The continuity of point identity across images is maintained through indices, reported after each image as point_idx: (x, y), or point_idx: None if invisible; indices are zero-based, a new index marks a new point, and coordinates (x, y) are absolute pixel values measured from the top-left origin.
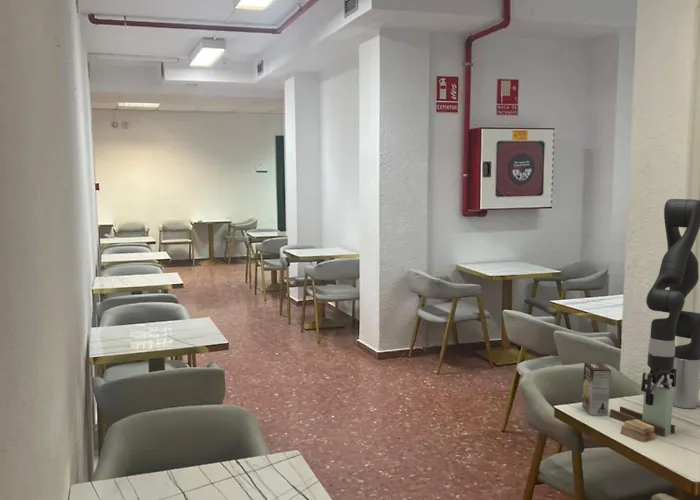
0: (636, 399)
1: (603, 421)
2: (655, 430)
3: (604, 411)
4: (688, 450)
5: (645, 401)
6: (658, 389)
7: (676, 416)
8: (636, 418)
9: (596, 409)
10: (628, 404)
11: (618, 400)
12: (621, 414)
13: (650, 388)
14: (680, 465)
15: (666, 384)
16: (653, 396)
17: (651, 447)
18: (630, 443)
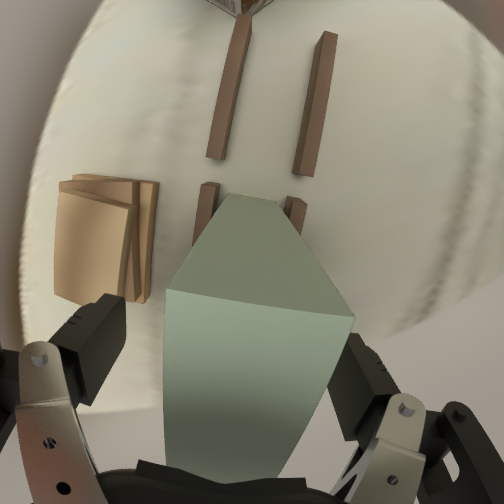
0: (501, 76)
1: (153, 48)
2: None
3: (226, 3)
4: (154, 394)
5: (81, 307)
6: (167, 452)
7: (459, 246)
8: (301, 132)
9: None
10: (449, 54)
11: (450, 19)
12: (223, 77)
13: (8, 429)
14: None
15: (337, 485)
16: (94, 390)
17: (71, 314)
18: (41, 252)
